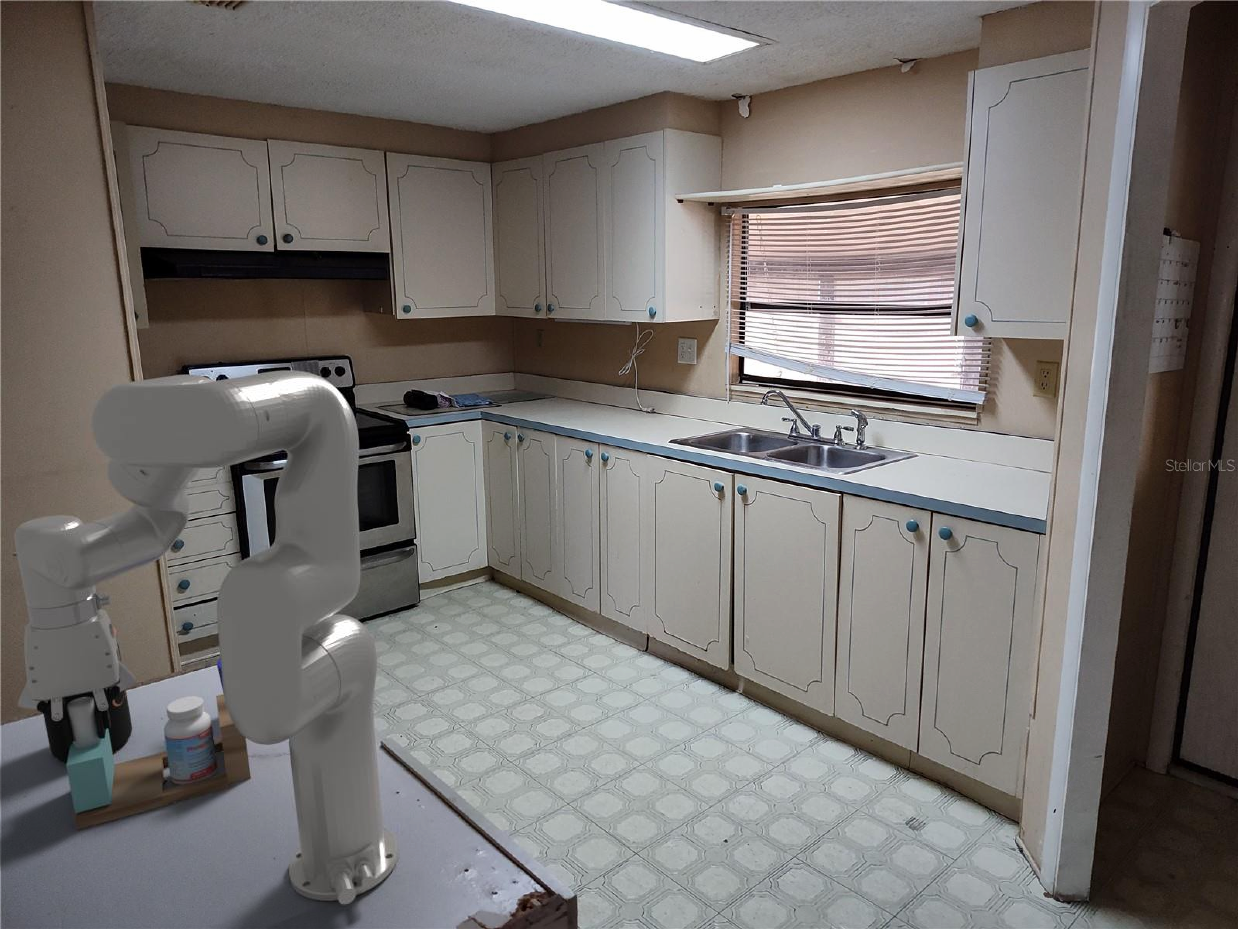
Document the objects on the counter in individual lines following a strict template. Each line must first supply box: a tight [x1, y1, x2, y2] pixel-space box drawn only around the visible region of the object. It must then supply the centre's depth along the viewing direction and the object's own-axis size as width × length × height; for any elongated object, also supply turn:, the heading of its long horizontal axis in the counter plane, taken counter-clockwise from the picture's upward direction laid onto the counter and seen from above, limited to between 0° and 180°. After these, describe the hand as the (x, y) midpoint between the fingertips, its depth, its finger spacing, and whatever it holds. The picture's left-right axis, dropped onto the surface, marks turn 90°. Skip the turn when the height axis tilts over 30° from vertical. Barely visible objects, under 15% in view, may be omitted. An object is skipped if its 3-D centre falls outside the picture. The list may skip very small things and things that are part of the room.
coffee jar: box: [42, 625, 133, 764], centre depth 124 cm, size 11×11×18 cm
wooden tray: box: [74, 693, 252, 831], centre depth 116 cm, size 12×21×9 cm, turn 118°
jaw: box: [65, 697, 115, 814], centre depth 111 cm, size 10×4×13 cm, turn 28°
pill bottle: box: [163, 695, 219, 786], centre depth 118 cm, size 6×6×11 cm
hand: (86, 736), depth 111 cm, fingers closed on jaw, 3 cm apart
